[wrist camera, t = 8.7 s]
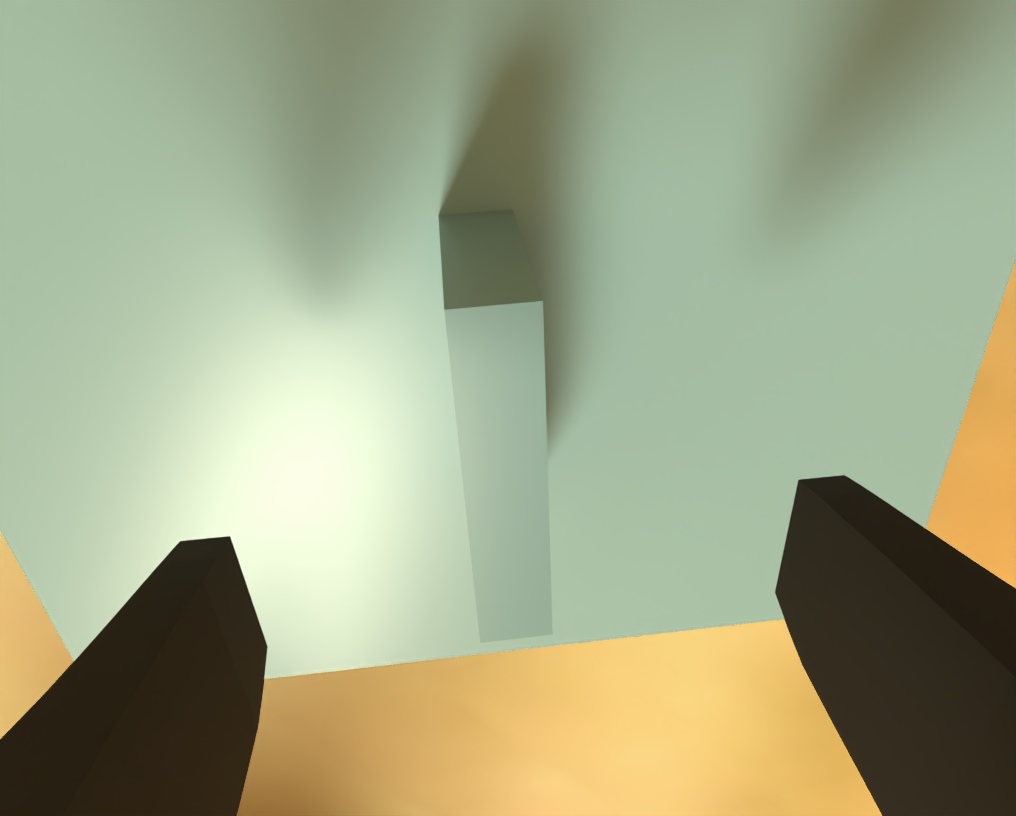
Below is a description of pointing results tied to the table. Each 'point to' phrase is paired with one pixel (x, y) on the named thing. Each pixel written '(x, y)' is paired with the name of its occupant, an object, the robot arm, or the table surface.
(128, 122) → the lid
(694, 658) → the table surface
